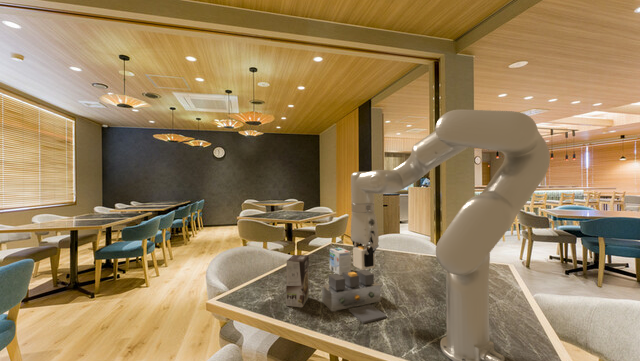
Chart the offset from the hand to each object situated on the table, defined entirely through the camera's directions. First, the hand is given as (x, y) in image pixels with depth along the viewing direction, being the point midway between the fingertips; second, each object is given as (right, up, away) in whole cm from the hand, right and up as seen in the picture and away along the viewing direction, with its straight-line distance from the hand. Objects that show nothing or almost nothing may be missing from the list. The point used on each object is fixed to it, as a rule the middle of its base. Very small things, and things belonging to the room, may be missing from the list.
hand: (364, 263), depth 88 cm
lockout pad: (+1, -17, 0) cm, 17 cm away
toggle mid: (-3, -11, +11) cm, 16 cm away
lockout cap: (0, -1, 0) cm, 1 cm away
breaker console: (-3, -17, +10) cm, 20 cm away
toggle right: (+3, -11, +13) cm, 17 cm away
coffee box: (-23, -18, +10) cm, 30 cm away
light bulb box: (-5, -18, +44) cm, 48 cm away
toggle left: (-8, -11, +8) cm, 16 cm away
